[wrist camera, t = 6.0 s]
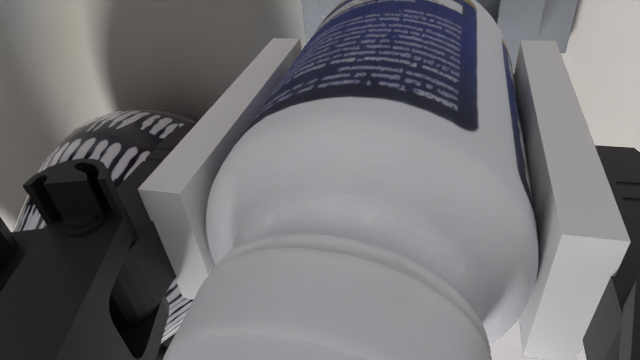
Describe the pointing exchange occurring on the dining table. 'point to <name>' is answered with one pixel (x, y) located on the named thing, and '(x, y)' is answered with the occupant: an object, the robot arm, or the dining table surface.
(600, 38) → the dining table surface
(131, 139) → the vase
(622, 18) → the dining table surface
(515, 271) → the pill bottle
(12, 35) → the dining table surface
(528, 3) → the coupler block
